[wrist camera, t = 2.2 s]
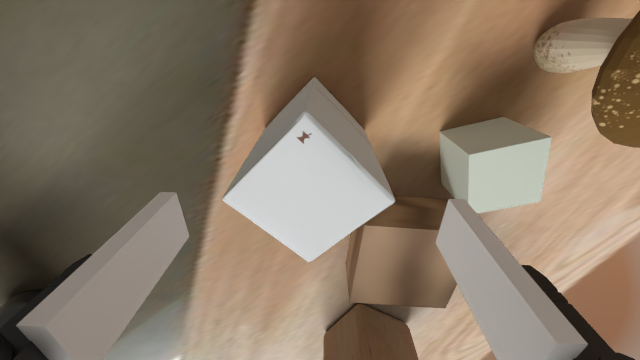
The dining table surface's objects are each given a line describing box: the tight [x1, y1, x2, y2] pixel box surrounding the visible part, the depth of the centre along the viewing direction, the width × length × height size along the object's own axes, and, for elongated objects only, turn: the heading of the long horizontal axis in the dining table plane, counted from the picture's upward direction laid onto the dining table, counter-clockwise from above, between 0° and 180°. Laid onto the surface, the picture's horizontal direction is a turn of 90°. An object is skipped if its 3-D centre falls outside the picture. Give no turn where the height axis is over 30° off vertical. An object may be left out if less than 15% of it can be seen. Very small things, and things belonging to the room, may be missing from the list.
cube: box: [439, 117, 552, 213], centre depth 24 cm, size 6×6×6 cm
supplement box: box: [222, 77, 395, 262], centre depth 20 cm, size 7×7×13 cm
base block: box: [346, 196, 457, 308], centre depth 29 cm, size 11×11×6 cm
